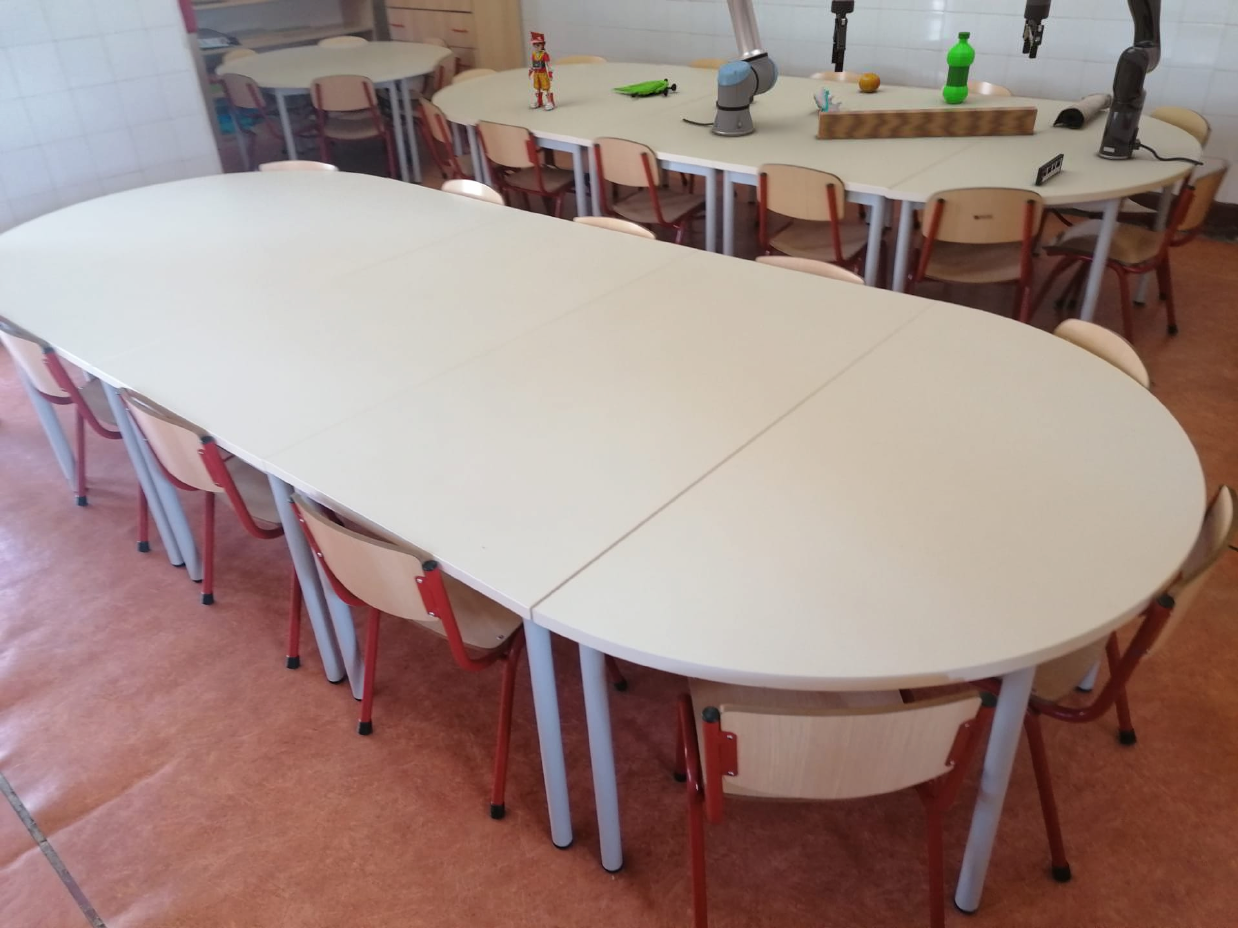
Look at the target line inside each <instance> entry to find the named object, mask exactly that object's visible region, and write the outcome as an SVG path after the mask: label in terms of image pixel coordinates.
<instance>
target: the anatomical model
mask: <svg viewBox="0 0 1238 928" xmlns="http://www.w3.org/2000/svg"><path fill="white" fill-rule="evenodd" d="M829 95H830V91H829V90H828V89H827V87H824V86H823V87H822V88H821V90H819V92H815V93H814V94H813V99H814V101H815V104H816V107H817V108H818V109H820V110H822V112H823V111H841V109H840V106H841V104H843V102H842V101H841V100H839V101H837V102H835V103H832V100H833V99H834V97H835V95H834V94H833V95H831V96H829Z"/></svg>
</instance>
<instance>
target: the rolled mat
mask: <svg viewBox="0 0 1238 928" xmlns="http://www.w3.org/2000/svg"><path fill="white" fill-rule="evenodd" d="M1112 97H1113V95H1112V94H1110V93H1103V92H1100V93H1093V94H1087V95H1085V96H1083V97H1081V100H1079V101H1077V102H1075V103H1073V104H1071V105H1069V106H1067V107H1066V108H1064V109H1062V110H1061V111H1060V112H1059V114H1058V115H1057V117H1056V119H1055V120H1054V121H1053V124H1052V126H1053V127H1055V126H1057V125H1064V126H1066V128H1071V129H1080V128H1082V127H1083V126H1084V125H1085V124H1086V123H1087V122H1088V121H1089V120H1090V119H1091V118H1092V117H1094V116H1095V115H1096V114H1097V113H1098V112H1099V111H1102V110H1107V109H1110V105H1111V101H1112Z"/></svg>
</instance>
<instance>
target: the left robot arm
mask: <svg viewBox="0 0 1238 928" xmlns="http://www.w3.org/2000/svg"><path fill="white" fill-rule="evenodd" d="M855 1H856V0H831V4H830V12H831V14H835V18H834V28H833V36H832V39H833V40H832V51H831V52H832V53H831V60H830V61H831V63H830V64H834V73H843V72H844V64H845V63H844V62H845V53H846V50H847V47H846V46H847V31H848V23H849V19H848V18H847V15H848V14H852V13H854V11H855V4H856V3H855ZM726 3H727V7H728V11H729V16H730V20H731V24H732V28H733V33H734V37H735V41H736V46H737V52H738V57H737V60H736V61H733V62H732V61H731V62H727V63H724V64H723V65H721V66H720V67H719V68H718V73H717V74H718V75H717V100H718V107H717V111H716V114H715V118H714V120H713V122H707V123H705V122H698V121H697V122H696V121H692V120H689V119H686V118H682V121H683V122H687V123H690V124H694V125H698V126H712V133H713V134H715V135H717V136H721V137H741V136H746V135H750V134H752V133H754V122H753V118H752V115H751V111H750V103H749V98H750V97H753V96H754V97H755V96H759V95H763V94H766V93H767V92H769V91H770V90H772V89H773V88H774V87H775V85H776V83H777V81H778V76H779V69H778V66H777V63H776V62H775V61H773V59H772V58H769V52H768V51H767V50H766V49H764V48H763V45H762V42H761V41H762V40H761V37H760V32H759V28H758V23H757V19H756V14H755V9H754V5H753V0H726Z"/></svg>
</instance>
